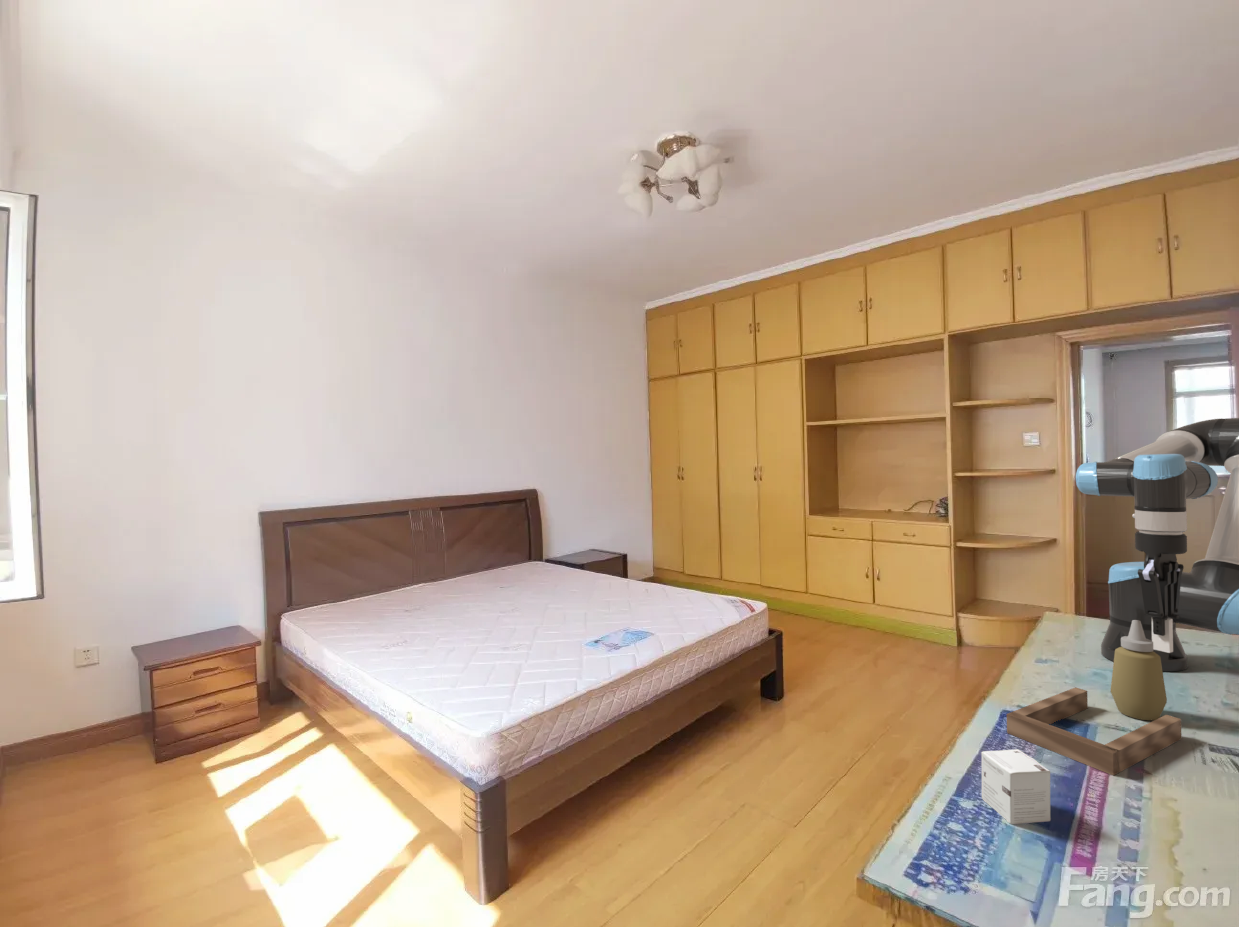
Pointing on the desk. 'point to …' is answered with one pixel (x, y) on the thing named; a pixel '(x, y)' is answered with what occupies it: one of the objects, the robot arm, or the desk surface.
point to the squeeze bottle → (1138, 677)
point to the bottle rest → (1107, 758)
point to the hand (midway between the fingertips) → (1162, 650)
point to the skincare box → (1016, 786)
